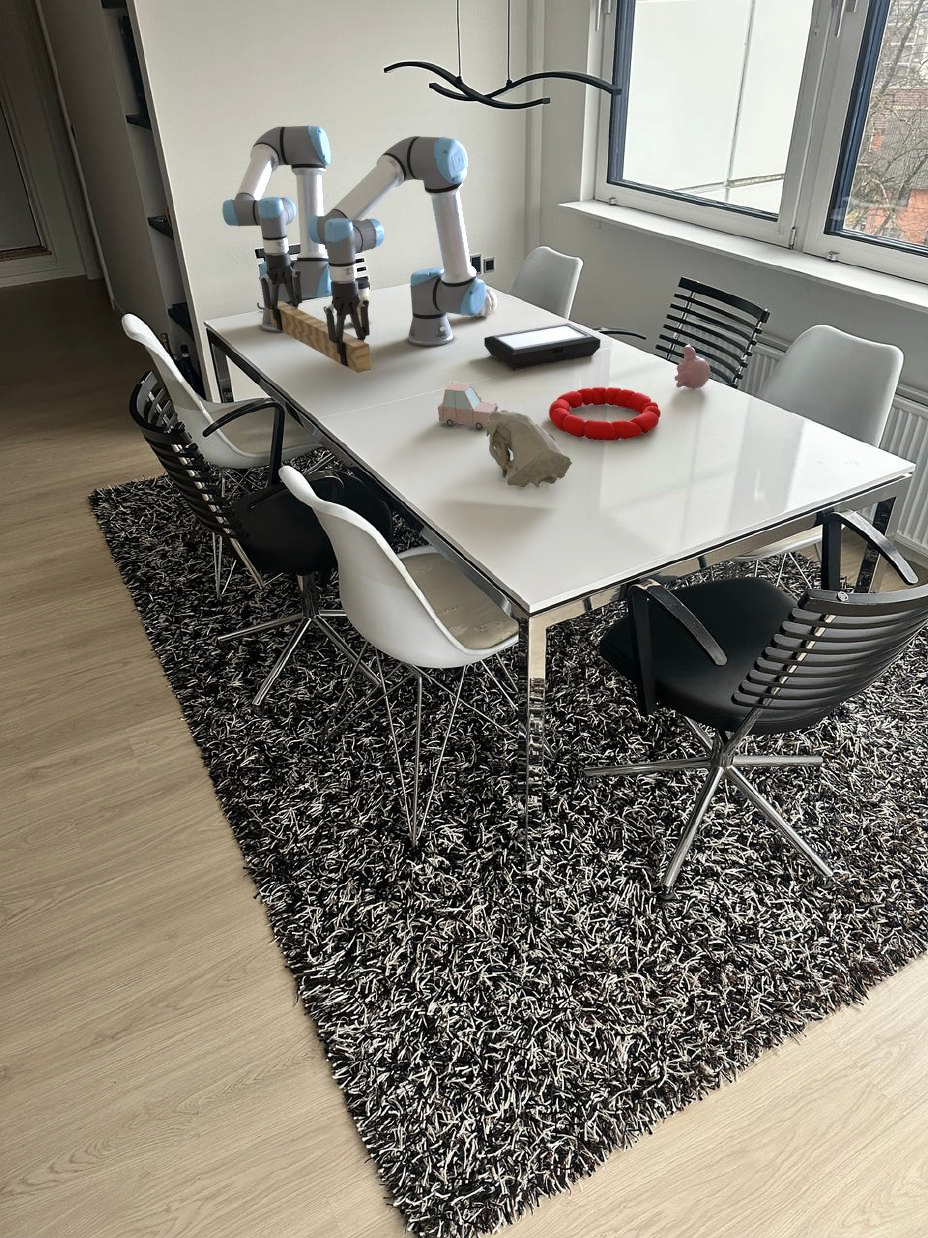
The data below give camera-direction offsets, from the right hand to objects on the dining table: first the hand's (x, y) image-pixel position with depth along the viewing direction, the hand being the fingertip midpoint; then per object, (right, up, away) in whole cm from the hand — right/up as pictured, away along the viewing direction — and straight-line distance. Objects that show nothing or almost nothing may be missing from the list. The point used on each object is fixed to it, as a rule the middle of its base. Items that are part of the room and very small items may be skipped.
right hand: (352, 362), depth 259 cm
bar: (-12, +10, +16) cm, 22 cm away
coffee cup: (-6, +34, +68) cm, 76 cm away
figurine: (+99, -7, +3) cm, 100 cm away
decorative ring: (+71, -21, -15) cm, 75 cm away
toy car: (+34, -21, -13) cm, 42 cm away
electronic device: (+58, +12, +32) cm, 67 cm away
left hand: (-25, +20, +31) cm, 45 cm away
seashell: (+40, +38, +71) cm, 89 cm away
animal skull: (+47, -38, -39) cm, 72 cm away
